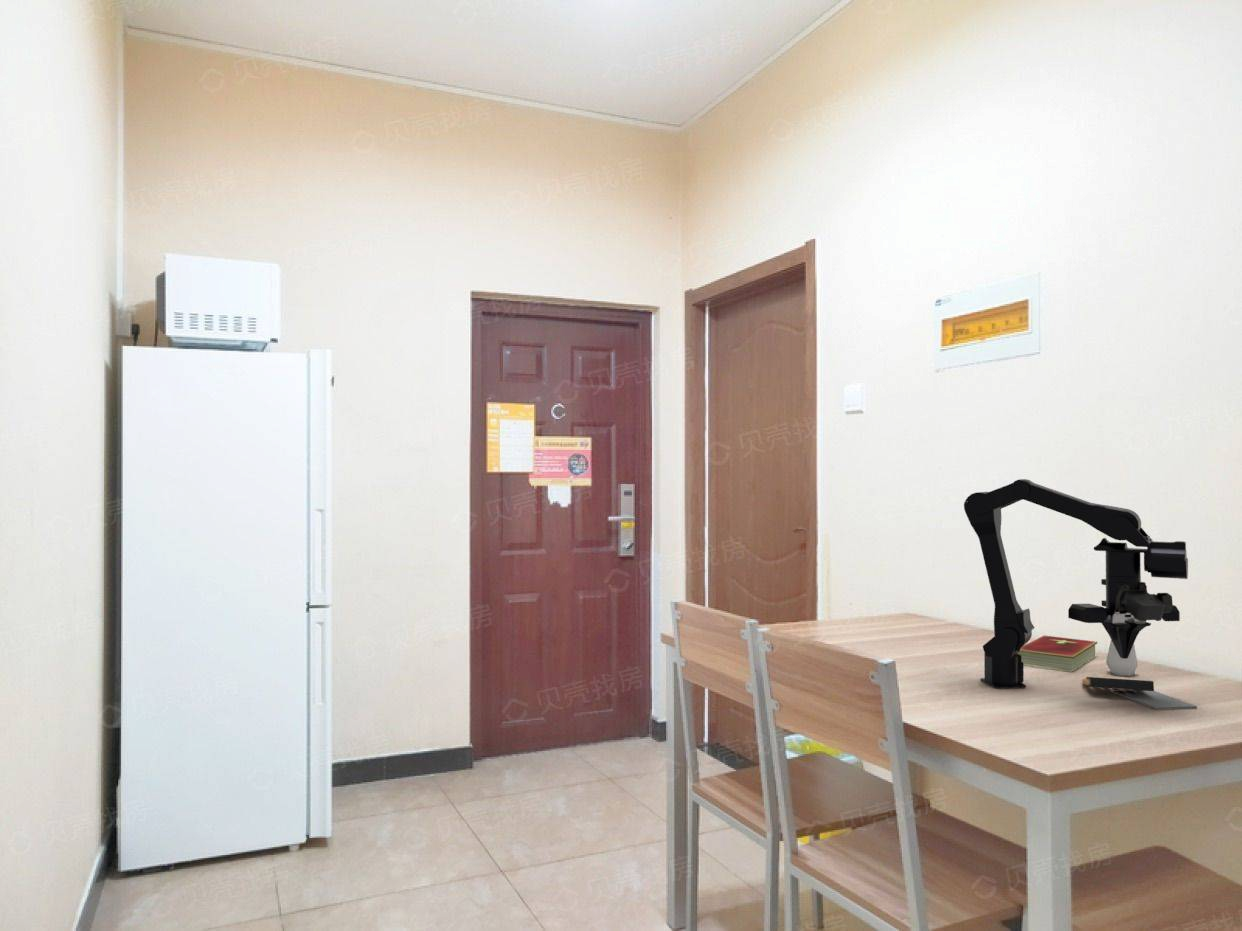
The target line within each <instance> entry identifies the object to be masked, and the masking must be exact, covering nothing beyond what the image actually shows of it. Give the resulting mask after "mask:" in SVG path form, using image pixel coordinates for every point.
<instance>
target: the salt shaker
mask: <svg viewBox="0 0 1242 931" xmlns="http://www.w3.org/2000/svg"><path fill="white" fill-rule="evenodd" d="M1107 652H1108V653H1107V656H1106V659H1105V663H1106V665H1107V667H1108V669H1109V670H1110V672H1111V675H1114V676H1119V677H1133V676H1134V675H1135V673H1136V670H1137V669H1138V667H1139V666H1138V665H1139V664H1138V658H1137V653H1136V649H1135V643H1134V644H1133V647H1132V649H1131V651H1130V654H1129V656H1128V658H1127V659H1123V658H1120V656H1119V654H1118V652H1117V650H1116V648H1115V646H1114V644H1113V642H1112V640H1111V639H1110V643H1109V646H1108V651H1107Z"/></svg>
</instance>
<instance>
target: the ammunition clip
mask: <svg viewBox="0 0 1242 931" xmlns="http://www.w3.org/2000/svg"><path fill="white" fill-rule="evenodd" d="M1081 683H1082V684H1083V685H1085V686H1086V687H1088V688H1099V689H1100V688H1103V689H1112V690H1113V689H1114V690H1143V691H1155V685H1154V684H1155V683H1154V680H1141V679H1140V680H1139V679H1125V678H1109V677H1093V676H1086V677H1085V678H1083V679H1082V680H1081Z"/></svg>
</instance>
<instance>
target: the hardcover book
mask: <svg viewBox="0 0 1242 931" xmlns="http://www.w3.org/2000/svg"><path fill="white" fill-rule="evenodd" d="M1097 644H1098V641H1094V640H1085V639H1077V638H1068V637H1060V636H1054V635H1053V636H1052V635H1042V636H1040V637H1038V638H1036V639H1035V640H1033V641H1029V642H1027V643H1026V644H1025V645H1024V646H1022V647H1021V649H1020V651H1019V652H1017V654H1019V655H1021V662H1023V663H1024V665H1027V666H1026V667H1031V666H1033V667H1034V668H1038V667H1041V668H1040V669H1046V668H1048V669H1047V670H1053V669H1055V671H1060V670H1062V672H1067V671H1070V672H1069V673H1073V672H1075V671H1076V670H1077V668H1078V667H1079V668H1080V666H1081V665H1082V664H1084V663H1085V662H1087V661H1088V660H1090V659H1091V658H1093V657H1094V658H1096V645H1097ZM1094 658H1093V659H1094ZM1091 660H1092V659H1091ZM1091 660H1090V661H1091ZM1088 662H1089V661H1088ZM1088 662H1087V663H1088ZM1085 664H1086V663H1085ZM1085 664H1084V665H1085ZM1082 666H1083V665H1082ZM1082 666H1081V667H1082ZM1079 668H1078V669H1079ZM1074 670H1075V671H1074ZM1072 671H1073V672H1072Z"/></svg>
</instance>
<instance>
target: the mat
mask: <svg viewBox="0 0 1242 931" xmlns="http://www.w3.org/2000/svg"><path fill="white" fill-rule="evenodd" d="M1112 694H1115V695H1117V696H1120V697H1123V698H1125V699H1128V700H1131V701H1133V702H1134V703H1138V704H1140V705H1143V706H1146V707H1148V708H1150V709H1152V710H1153V709H1154V710H1156V711H1157V710H1179V709H1180V710H1186V709H1187V710H1189V709H1192V710H1194V709H1198V706H1197V705H1195V704H1192V703H1189V702H1186V701H1183V700H1181V699H1179V698H1176V697H1173V696H1170V695H1167V694H1165V693H1161V692H1159V691H1156V690H1154V691H1143V690H1128V689H1114V690H1113V689H1112Z"/></svg>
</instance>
